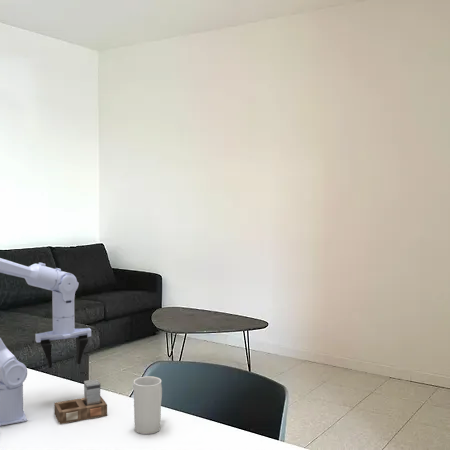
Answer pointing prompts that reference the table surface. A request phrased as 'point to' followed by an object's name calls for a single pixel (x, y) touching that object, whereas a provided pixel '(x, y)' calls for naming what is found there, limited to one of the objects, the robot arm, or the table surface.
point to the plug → (91, 392)
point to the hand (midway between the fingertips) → (64, 364)
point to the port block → (78, 410)
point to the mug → (147, 404)
